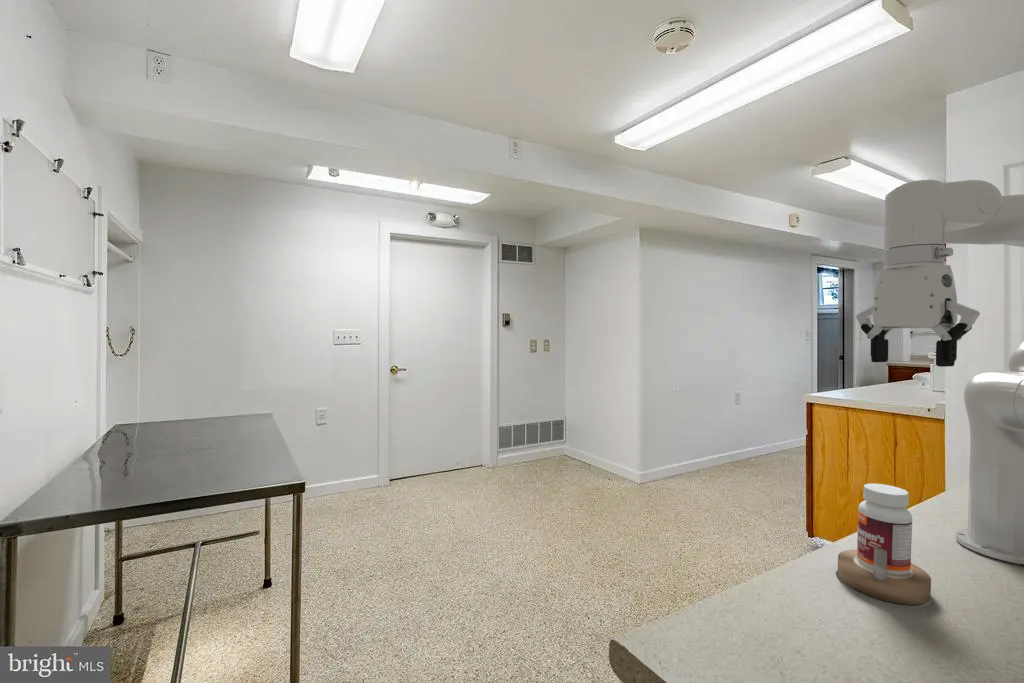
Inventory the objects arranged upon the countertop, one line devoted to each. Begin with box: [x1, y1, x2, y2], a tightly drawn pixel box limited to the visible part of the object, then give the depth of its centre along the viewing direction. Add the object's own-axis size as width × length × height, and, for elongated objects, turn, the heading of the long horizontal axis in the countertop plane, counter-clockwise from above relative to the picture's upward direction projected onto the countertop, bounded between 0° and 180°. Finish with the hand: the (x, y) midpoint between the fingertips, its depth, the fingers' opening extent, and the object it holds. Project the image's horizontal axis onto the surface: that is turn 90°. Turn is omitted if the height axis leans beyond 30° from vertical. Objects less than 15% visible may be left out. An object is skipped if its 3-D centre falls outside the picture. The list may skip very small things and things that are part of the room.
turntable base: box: [835, 569, 933, 609], centre depth 68 cm, size 11×11×2 cm
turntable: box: [837, 548, 932, 605], centre depth 68 cm, size 11×11×6 cm
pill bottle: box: [856, 483, 913, 575], centre depth 68 cm, size 6×6×11 cm
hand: (910, 364), depth 77 cm, fingers open, 9 cm apart
